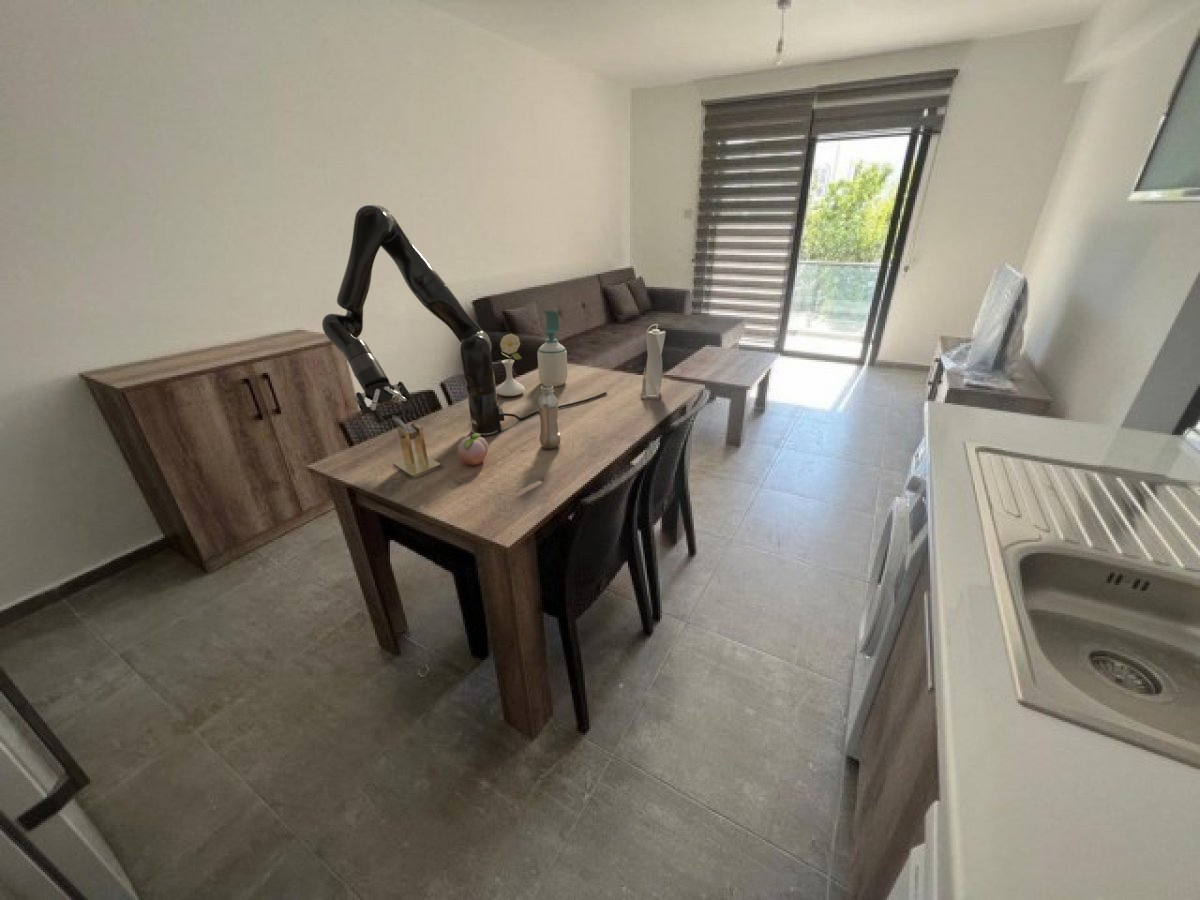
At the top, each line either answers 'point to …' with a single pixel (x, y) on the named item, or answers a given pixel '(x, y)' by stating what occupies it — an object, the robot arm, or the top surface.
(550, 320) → the soap bottle
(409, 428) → the lever
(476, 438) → the decorative fruit
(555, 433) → the plastic bottle
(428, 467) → the bracket
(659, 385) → the skyscraper
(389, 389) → the robot arm
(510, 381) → the flower in vase
